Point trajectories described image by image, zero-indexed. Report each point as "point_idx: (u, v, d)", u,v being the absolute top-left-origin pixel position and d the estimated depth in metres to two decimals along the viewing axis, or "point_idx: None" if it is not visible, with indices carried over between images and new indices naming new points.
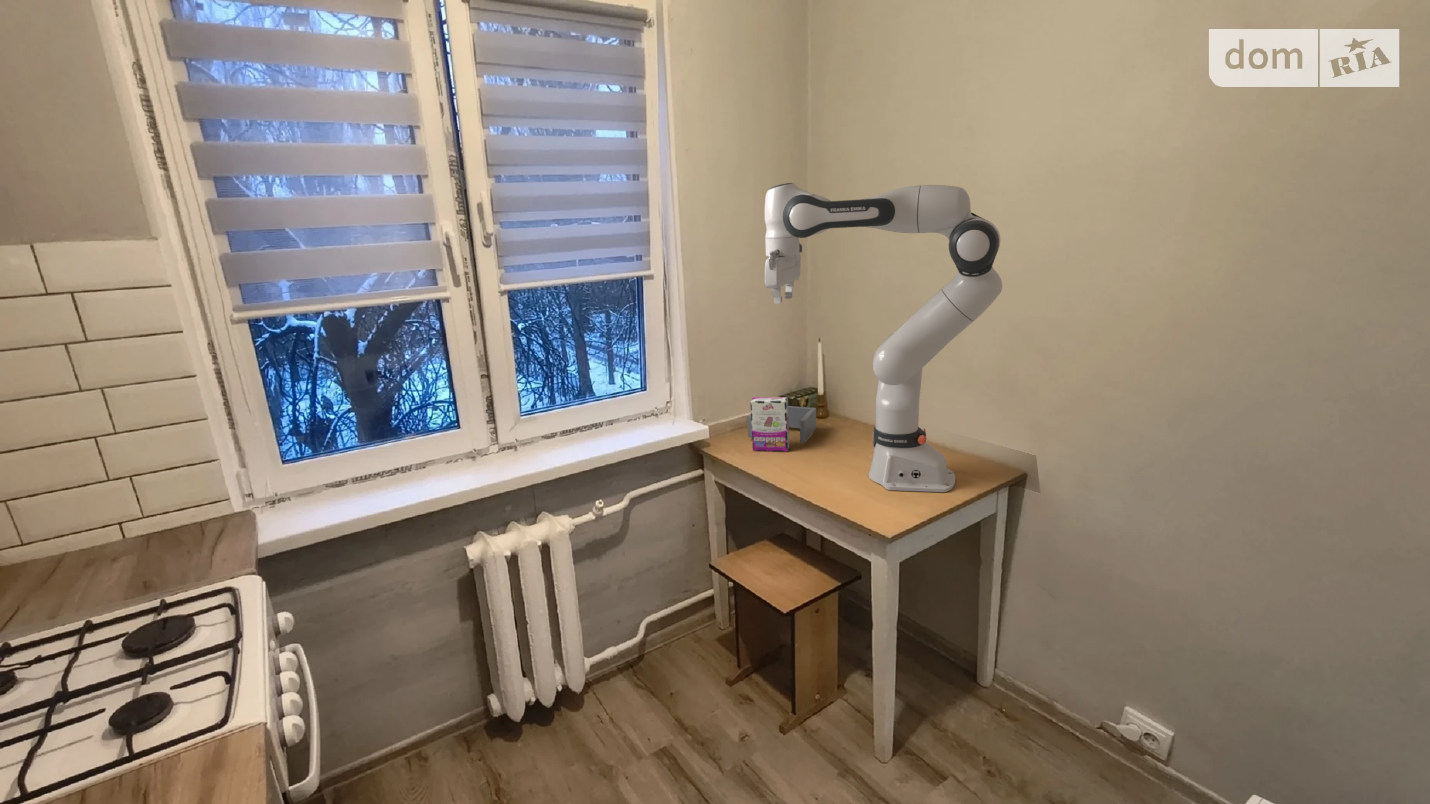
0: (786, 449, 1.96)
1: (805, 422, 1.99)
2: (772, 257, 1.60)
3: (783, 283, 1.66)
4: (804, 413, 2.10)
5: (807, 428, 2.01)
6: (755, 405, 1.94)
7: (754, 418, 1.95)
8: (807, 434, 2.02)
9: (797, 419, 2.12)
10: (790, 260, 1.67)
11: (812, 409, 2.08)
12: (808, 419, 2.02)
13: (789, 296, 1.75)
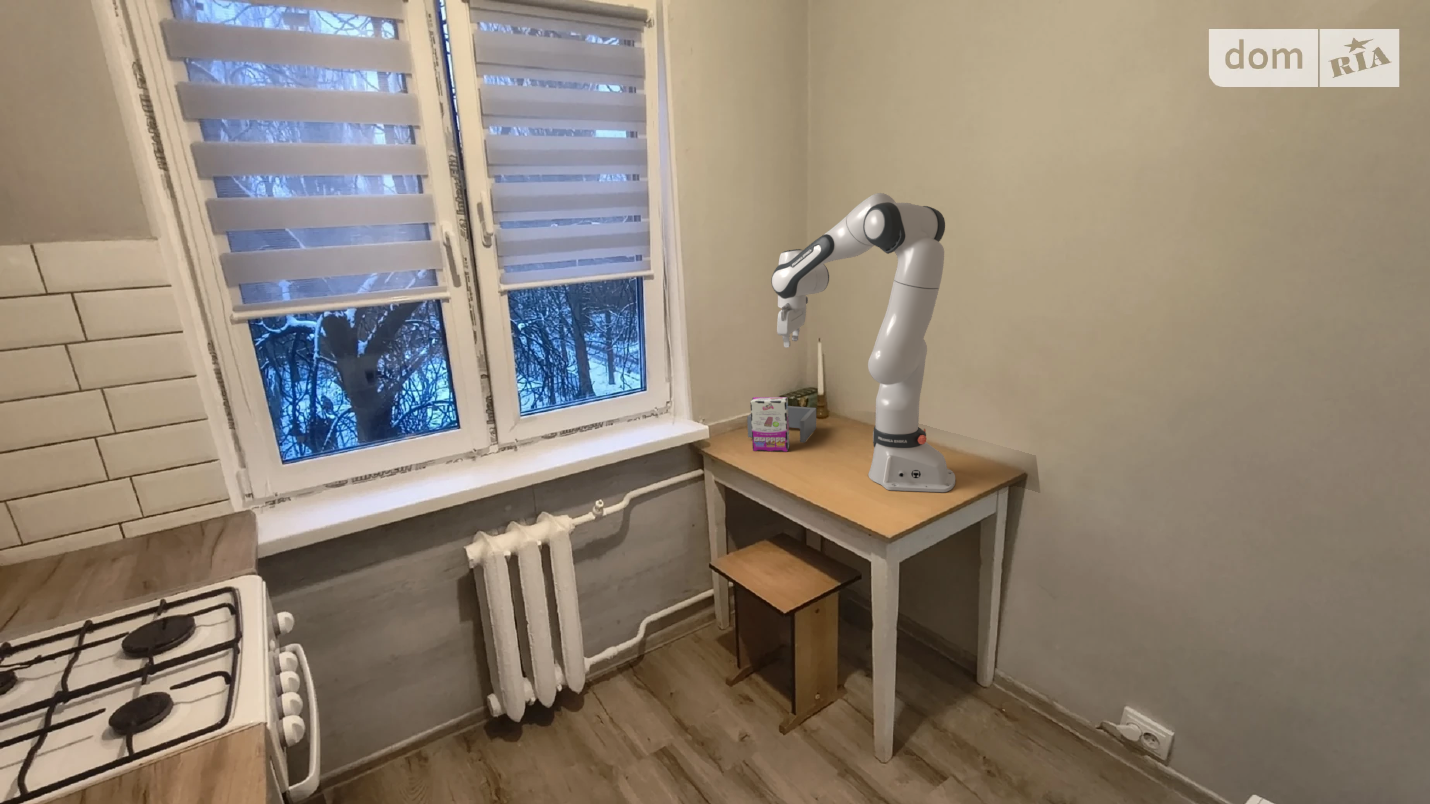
0: (786, 449, 1.96)
1: (805, 422, 1.99)
2: (784, 311, 1.94)
3: (792, 331, 2.00)
4: (804, 413, 2.10)
5: (807, 428, 2.01)
6: (755, 405, 1.94)
7: (754, 418, 1.95)
8: (807, 434, 2.02)
9: (797, 419, 2.12)
10: (798, 311, 2.01)
11: (812, 409, 2.08)
12: (808, 419, 2.02)
13: (796, 339, 2.10)
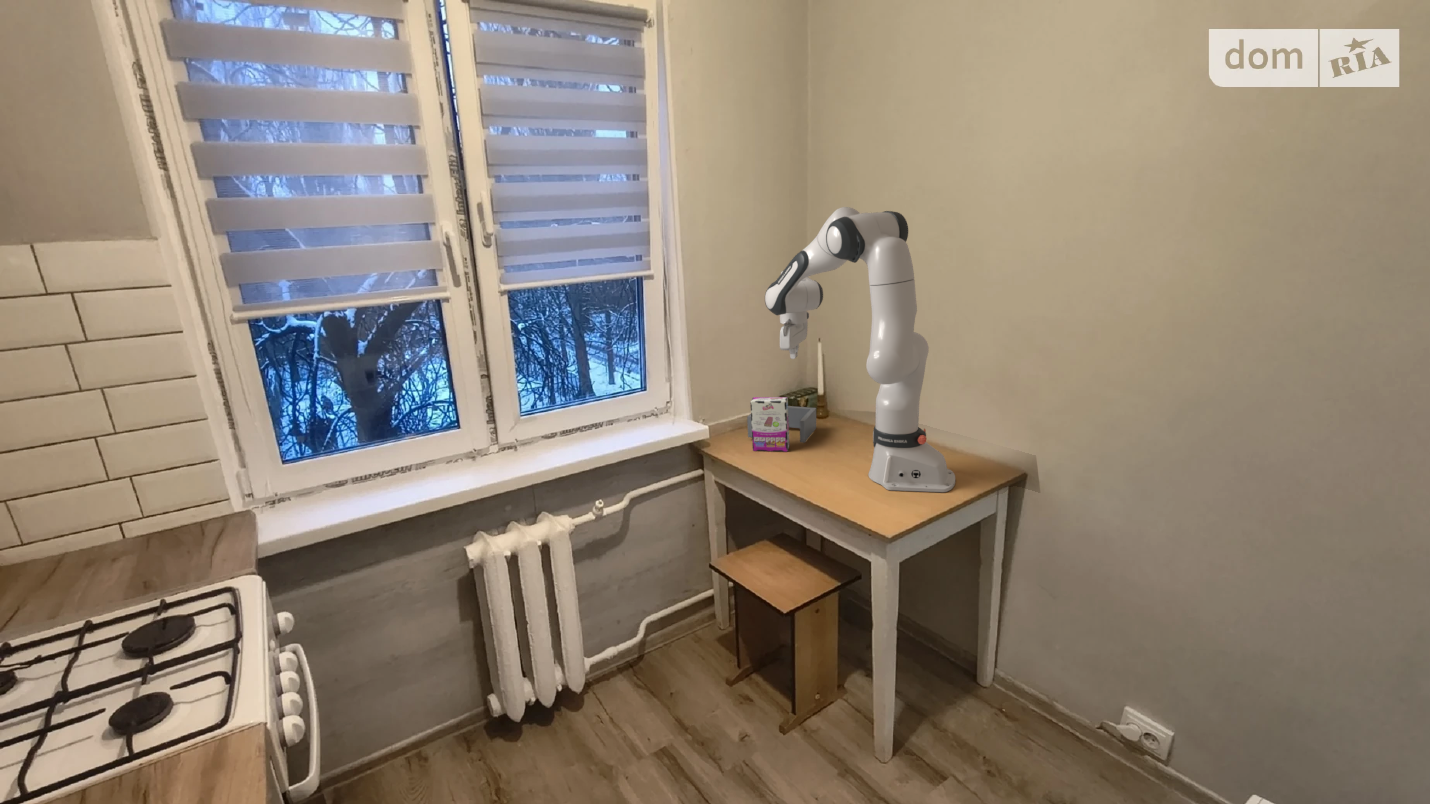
0: (786, 449, 1.96)
1: (805, 422, 1.99)
2: (785, 327, 2.04)
3: (794, 345, 2.09)
4: (804, 413, 2.10)
5: (807, 428, 2.01)
6: (755, 405, 1.94)
7: (754, 418, 1.95)
8: (807, 434, 2.02)
9: (797, 419, 2.12)
10: (799, 327, 2.10)
11: (812, 409, 2.08)
12: (808, 419, 2.02)
13: None
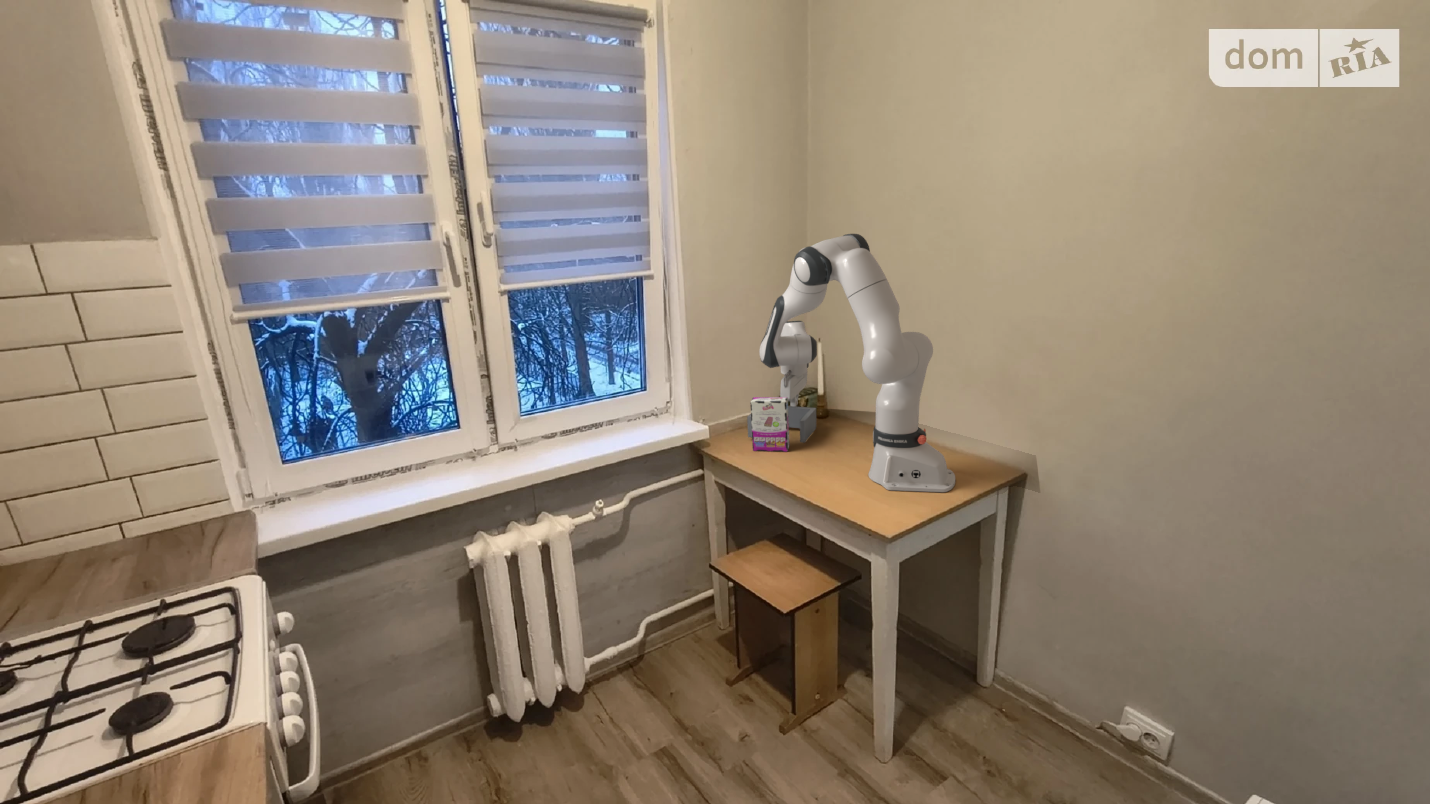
0: (786, 449, 1.96)
1: (805, 422, 1.99)
2: (786, 378, 2.09)
3: (794, 396, 2.14)
4: (804, 413, 2.10)
5: (807, 428, 2.01)
6: (755, 405, 1.94)
7: (754, 418, 1.95)
8: (807, 434, 2.02)
9: (797, 419, 2.12)
10: (799, 377, 2.15)
11: (812, 409, 2.08)
12: (808, 419, 2.02)
13: None
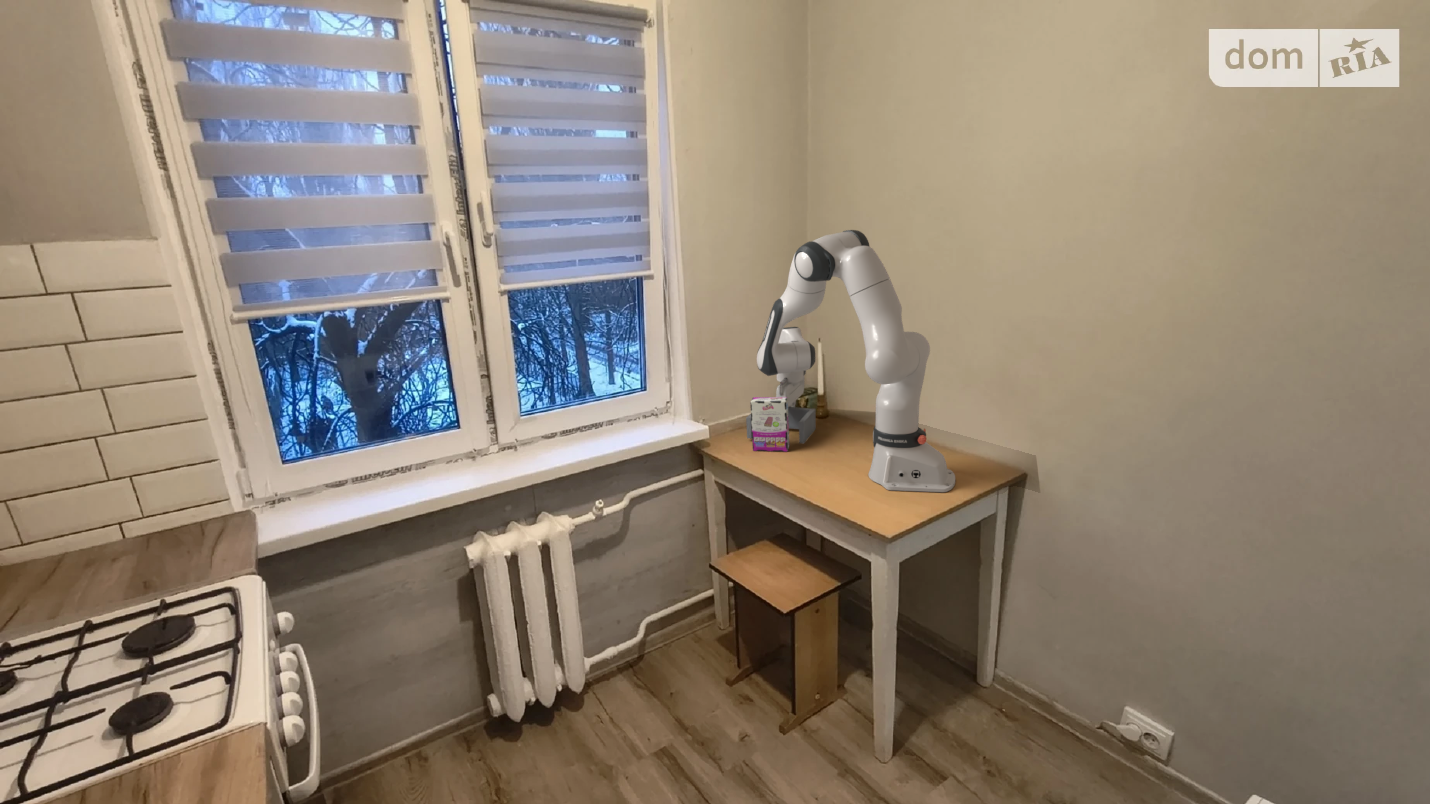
0: (786, 449, 1.96)
1: (804, 423, 1.98)
2: (782, 386, 2.04)
3: (790, 403, 2.09)
4: (803, 414, 2.09)
5: (806, 429, 2.00)
6: (755, 405, 1.94)
7: (754, 418, 1.95)
8: (806, 435, 2.01)
9: (796, 420, 2.11)
10: (796, 385, 2.10)
11: (811, 410, 2.08)
12: (807, 420, 2.01)
13: None
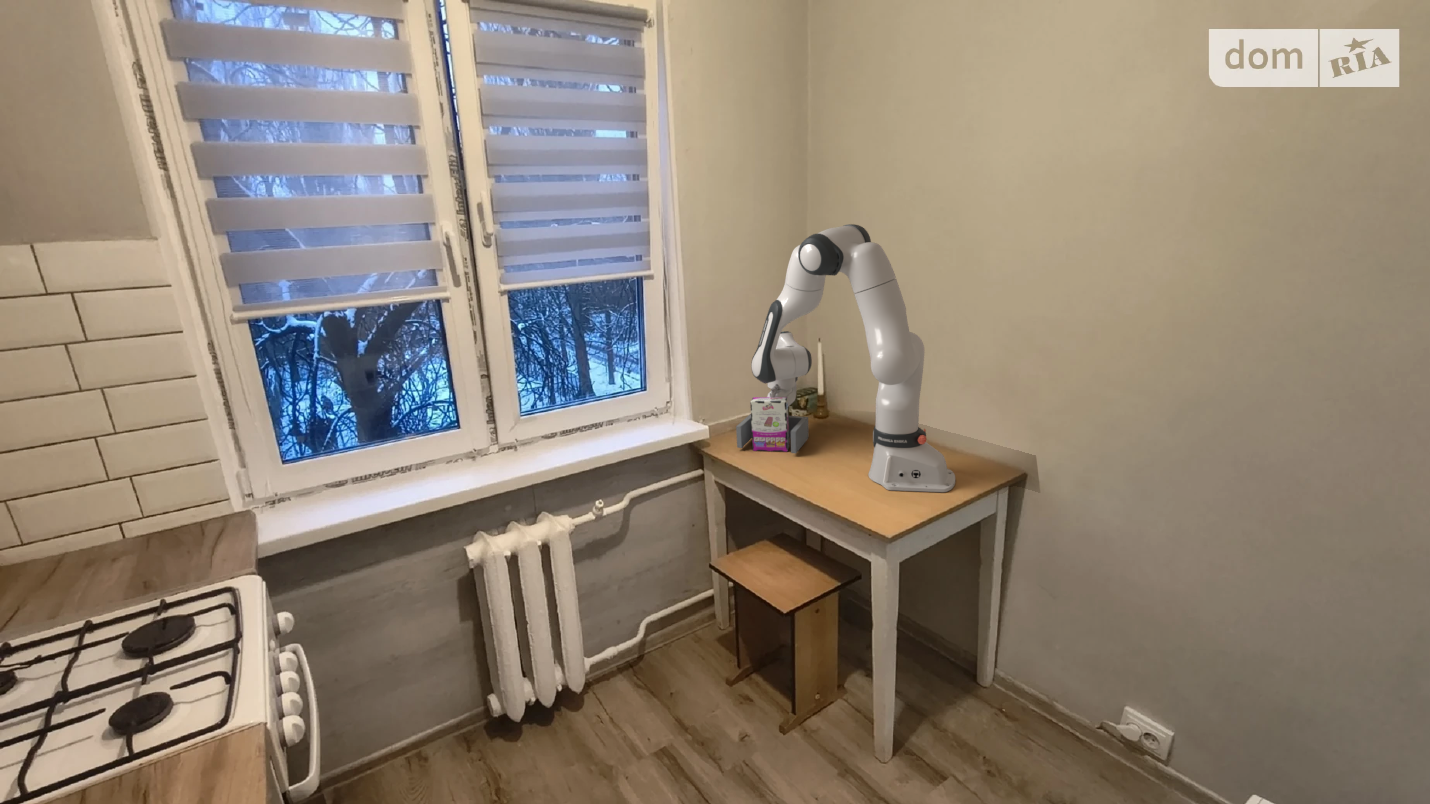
0: (786, 449, 1.96)
1: (796, 432, 1.90)
2: (773, 393, 1.96)
3: None
4: (796, 422, 2.02)
5: (798, 438, 1.93)
6: (755, 405, 1.94)
7: (754, 418, 1.95)
8: (798, 445, 1.93)
9: None
10: (787, 391, 2.02)
11: (804, 418, 2.00)
12: (799, 429, 1.93)
13: None
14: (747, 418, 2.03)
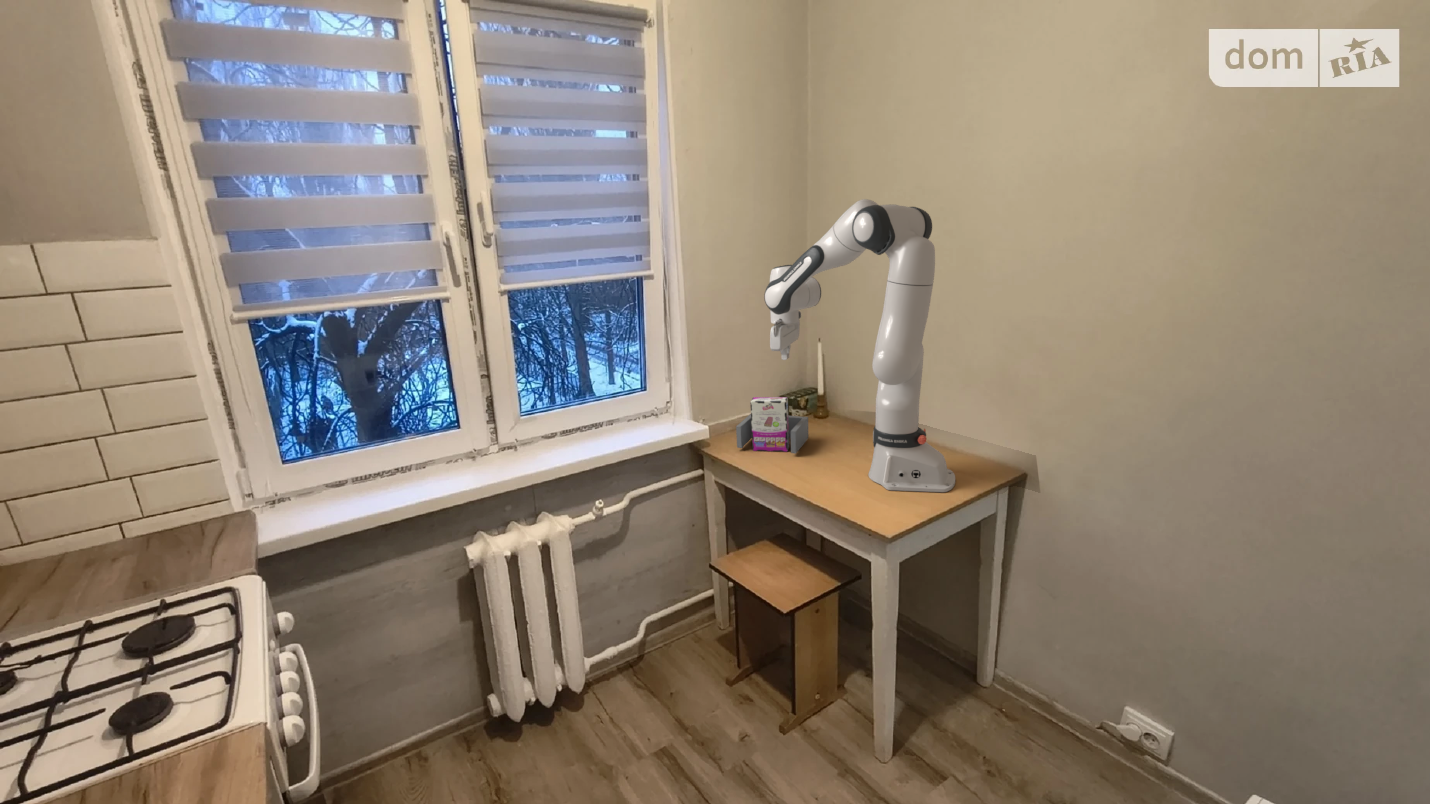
0: (786, 449, 1.96)
1: (796, 432, 1.90)
2: (776, 326, 1.95)
3: (785, 346, 2.00)
4: (796, 422, 2.02)
5: (798, 438, 1.93)
6: (755, 405, 1.94)
7: (754, 418, 1.95)
8: (798, 445, 1.93)
9: None
10: (791, 327, 2.01)
11: (804, 418, 2.00)
12: (799, 429, 1.93)
13: None
14: (747, 418, 2.03)
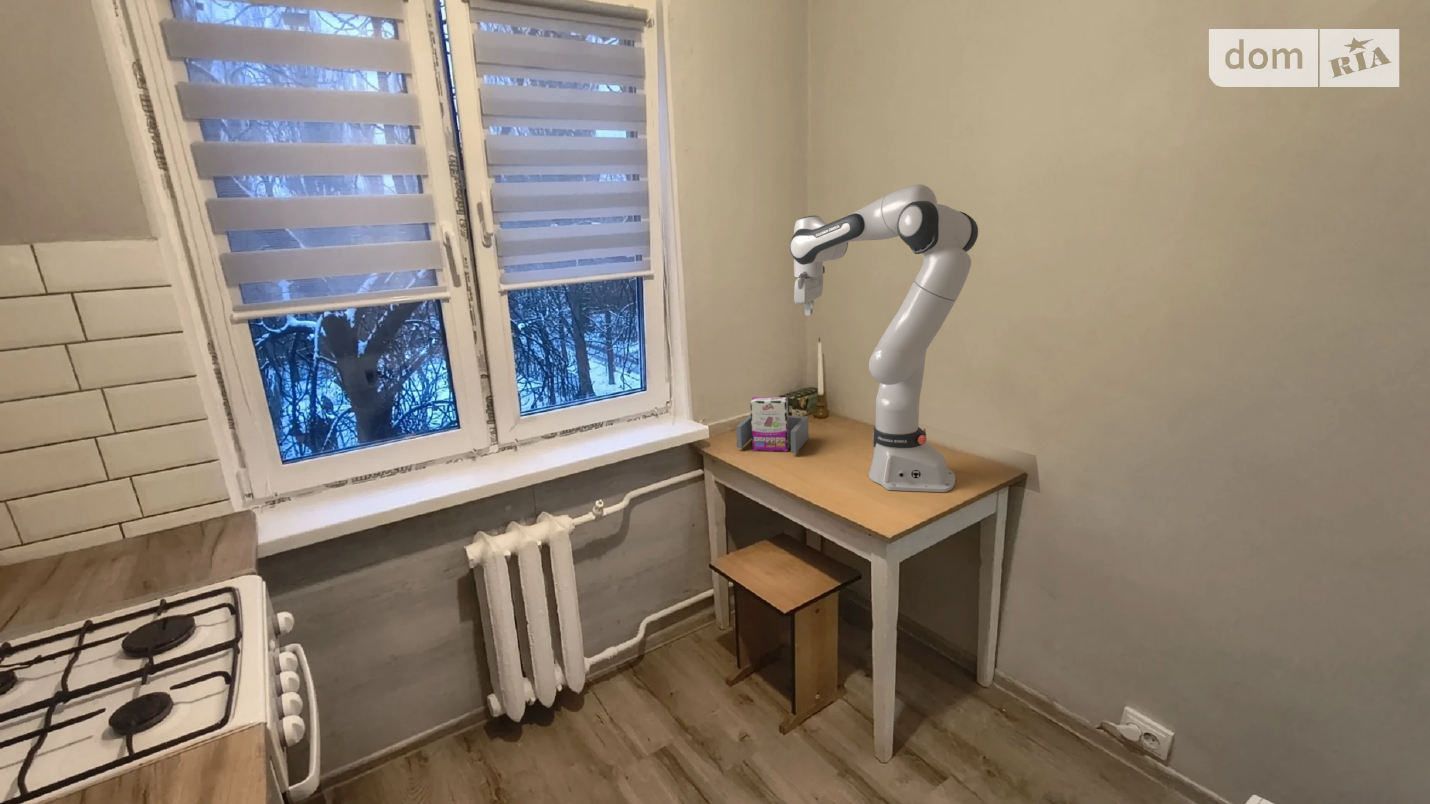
0: (786, 449, 1.96)
1: (796, 432, 1.90)
2: (801, 278, 1.90)
3: (809, 300, 1.95)
4: (796, 422, 2.02)
5: (798, 438, 1.93)
6: (755, 405, 1.94)
7: (754, 418, 1.95)
8: (798, 445, 1.93)
9: None
10: (815, 280, 1.96)
11: (804, 418, 2.00)
12: (799, 429, 1.93)
13: None
14: (747, 418, 2.03)
